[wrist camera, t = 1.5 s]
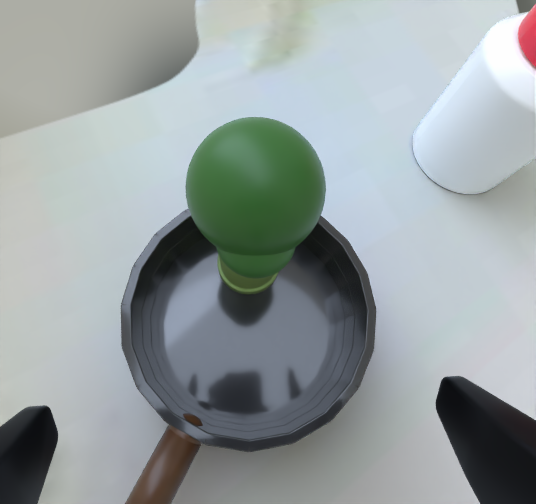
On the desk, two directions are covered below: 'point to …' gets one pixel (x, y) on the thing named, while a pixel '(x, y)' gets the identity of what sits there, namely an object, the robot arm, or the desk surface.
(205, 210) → the broccoli
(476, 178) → the pill bottle
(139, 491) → the pan handle
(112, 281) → the desk surface
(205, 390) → the pan
